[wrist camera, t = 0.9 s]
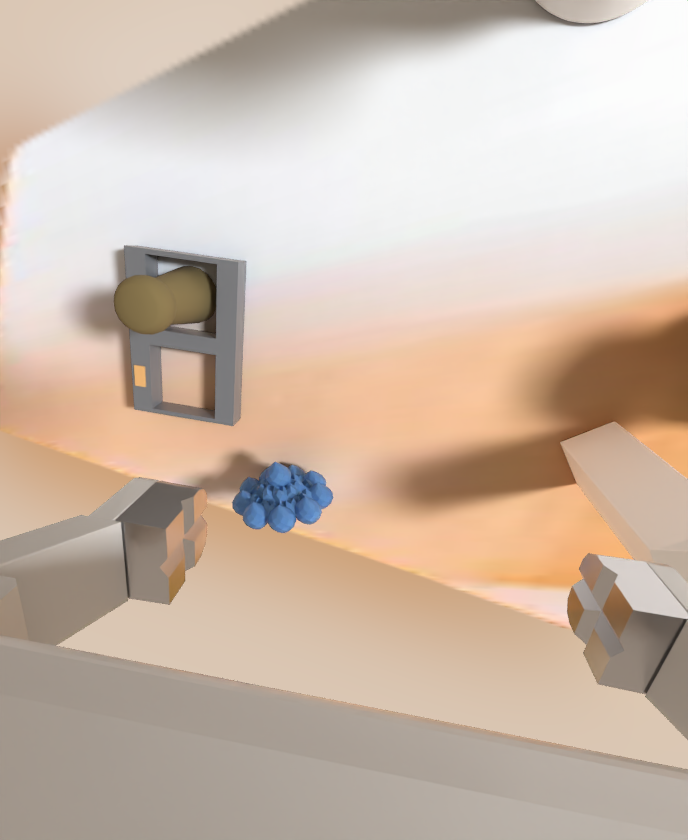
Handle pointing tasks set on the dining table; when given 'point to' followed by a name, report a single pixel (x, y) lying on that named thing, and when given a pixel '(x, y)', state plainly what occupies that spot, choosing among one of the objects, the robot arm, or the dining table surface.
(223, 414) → the panel
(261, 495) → the grapes
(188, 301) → the cork
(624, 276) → the dining table surface
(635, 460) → the milk
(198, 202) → the dining table surface
